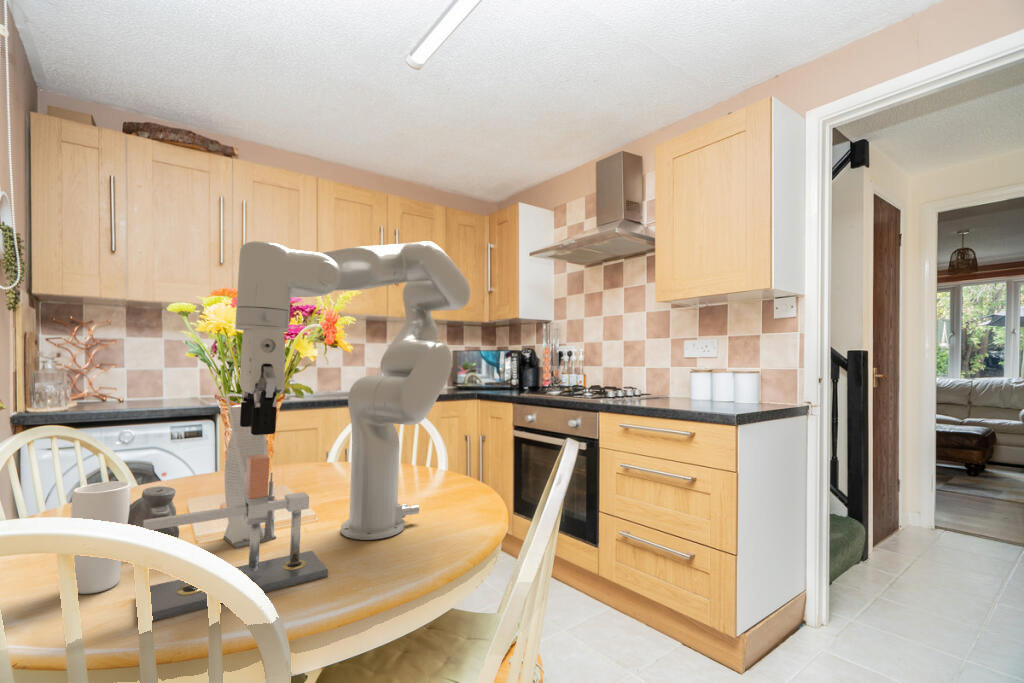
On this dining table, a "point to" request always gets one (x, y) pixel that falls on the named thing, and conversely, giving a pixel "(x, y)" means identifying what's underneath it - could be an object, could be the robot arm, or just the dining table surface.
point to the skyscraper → (243, 479)
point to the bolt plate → (268, 575)
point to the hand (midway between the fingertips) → (256, 430)
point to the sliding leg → (256, 502)
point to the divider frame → (290, 502)
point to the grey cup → (106, 506)
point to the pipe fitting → (154, 508)
